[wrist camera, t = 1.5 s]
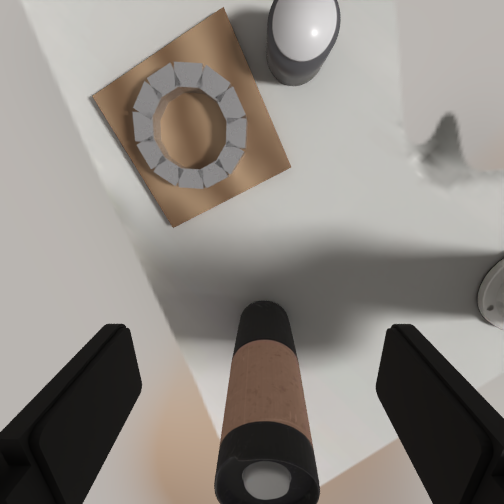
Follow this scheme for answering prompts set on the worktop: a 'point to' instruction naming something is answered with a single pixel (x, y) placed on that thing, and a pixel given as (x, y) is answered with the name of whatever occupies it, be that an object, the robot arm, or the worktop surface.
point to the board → (198, 121)
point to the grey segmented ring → (152, 109)
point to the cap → (300, 38)
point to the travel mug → (265, 417)
